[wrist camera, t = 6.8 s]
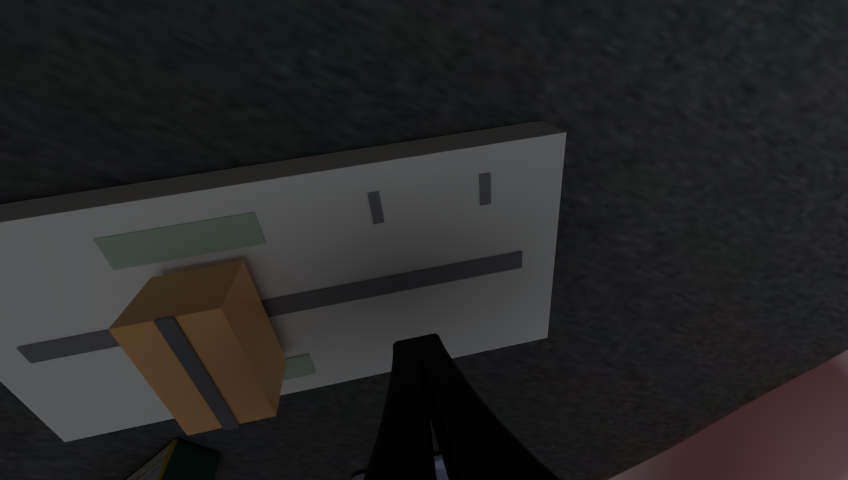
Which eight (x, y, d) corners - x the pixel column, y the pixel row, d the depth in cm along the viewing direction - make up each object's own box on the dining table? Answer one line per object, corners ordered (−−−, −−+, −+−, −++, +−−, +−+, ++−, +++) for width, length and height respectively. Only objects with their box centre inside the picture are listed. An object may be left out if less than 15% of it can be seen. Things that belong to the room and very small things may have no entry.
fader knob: (287, 361, 15) (276, 419, 13) (211, 377, 15) (187, 438, 12) (242, 259, 12) (218, 308, 10) (150, 276, 12) (104, 330, 10)
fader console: (530, 310, 19) (548, 339, 18) (93, 401, 17) (63, 444, 16) (540, 120, 14) (567, 133, 13) (-75, 215, 12) (-149, 246, 10)
